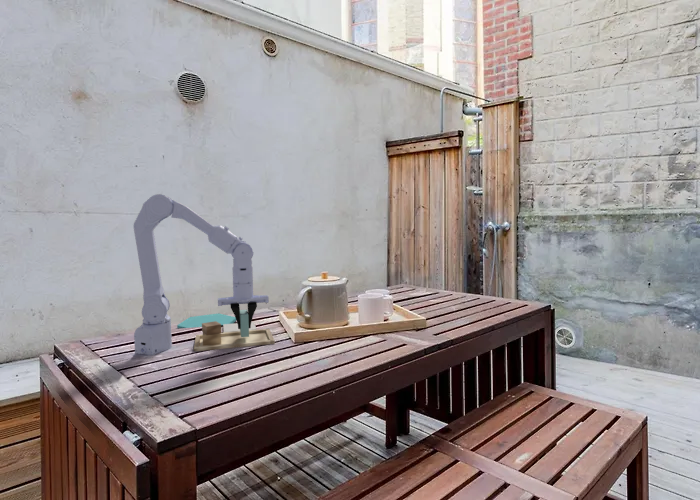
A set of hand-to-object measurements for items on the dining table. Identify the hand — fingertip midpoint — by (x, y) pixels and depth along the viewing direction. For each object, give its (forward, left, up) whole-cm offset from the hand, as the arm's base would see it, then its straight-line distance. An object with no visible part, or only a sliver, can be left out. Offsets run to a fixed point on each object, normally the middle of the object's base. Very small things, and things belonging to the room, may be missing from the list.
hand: (244, 327), depth 131 cm
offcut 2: (-5, +8, -4) cm, 10 cm away
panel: (0, 0, -2) cm, 2 cm away
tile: (+10, +8, -5) cm, 13 cm away
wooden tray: (-2, +2, -5) cm, 6 cm away
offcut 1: (-5, +8, -1) cm, 9 cm away
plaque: (+16, +24, -5) cm, 30 cm away
